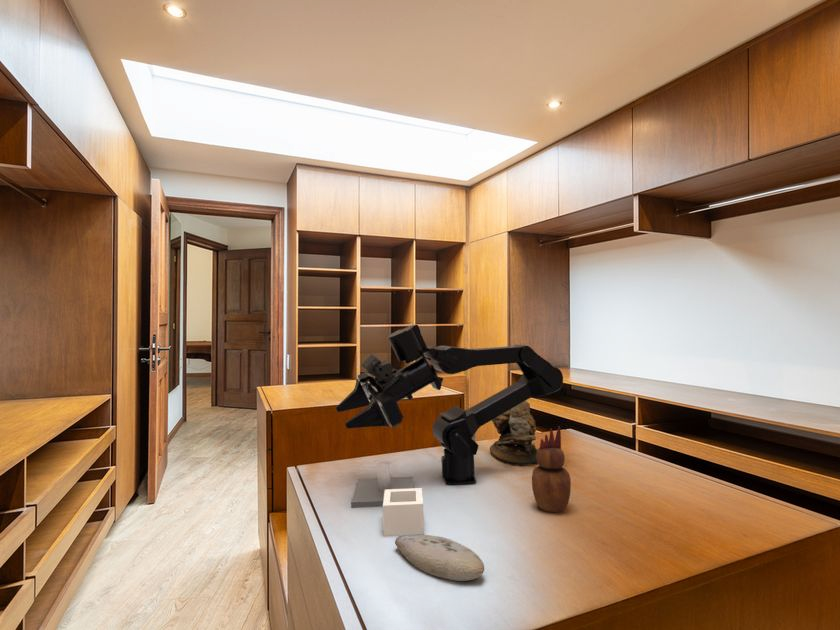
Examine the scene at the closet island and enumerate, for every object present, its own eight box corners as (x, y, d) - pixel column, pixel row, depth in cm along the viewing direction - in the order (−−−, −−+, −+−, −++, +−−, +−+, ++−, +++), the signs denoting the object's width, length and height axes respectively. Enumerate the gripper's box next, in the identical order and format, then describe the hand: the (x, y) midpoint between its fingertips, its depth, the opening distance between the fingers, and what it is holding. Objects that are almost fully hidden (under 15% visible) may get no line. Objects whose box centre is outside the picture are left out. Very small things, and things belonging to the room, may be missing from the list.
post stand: (413, 481, 95) (412, 453, 95) (414, 504, 83) (413, 473, 83) (358, 483, 94) (357, 455, 94) (351, 507, 82) (350, 475, 82)
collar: (422, 515, 78) (421, 487, 78) (424, 534, 72) (423, 503, 72) (385, 517, 78) (384, 489, 78) (383, 536, 71) (382, 505, 71)
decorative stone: (408, 541, 70) (407, 520, 70) (495, 572, 61) (495, 548, 61) (383, 559, 65) (382, 536, 65) (474, 596, 56) (473, 569, 56)
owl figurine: (555, 465, 102) (553, 393, 102) (508, 471, 100) (505, 397, 100) (522, 443, 120) (519, 381, 120) (481, 448, 117) (479, 384, 117)
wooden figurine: (571, 503, 81) (569, 423, 81) (571, 517, 76) (568, 431, 76) (534, 499, 83) (531, 421, 83) (531, 513, 78) (528, 429, 78)
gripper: (380, 339, 98) (316, 371, 94) (409, 357, 81) (332, 398, 77) (399, 381, 101) (338, 414, 97) (430, 407, 84) (358, 449, 80)
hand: (341, 417), depth 87 cm, fingers open, 9 cm apart
